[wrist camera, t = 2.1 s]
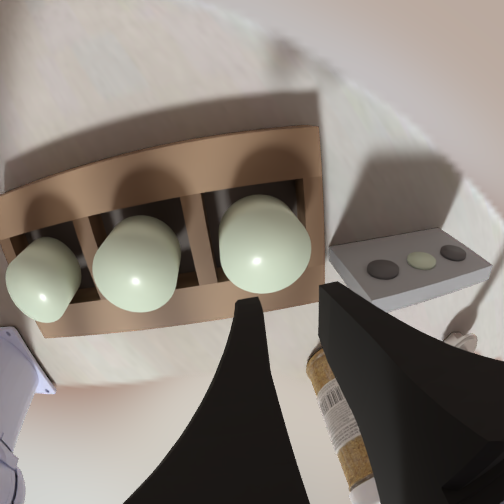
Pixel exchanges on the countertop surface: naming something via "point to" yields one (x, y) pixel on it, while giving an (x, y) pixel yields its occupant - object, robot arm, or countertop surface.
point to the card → (408, 267)
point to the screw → (462, 341)
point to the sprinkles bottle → (343, 431)
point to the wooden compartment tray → (173, 220)
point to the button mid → (138, 264)
